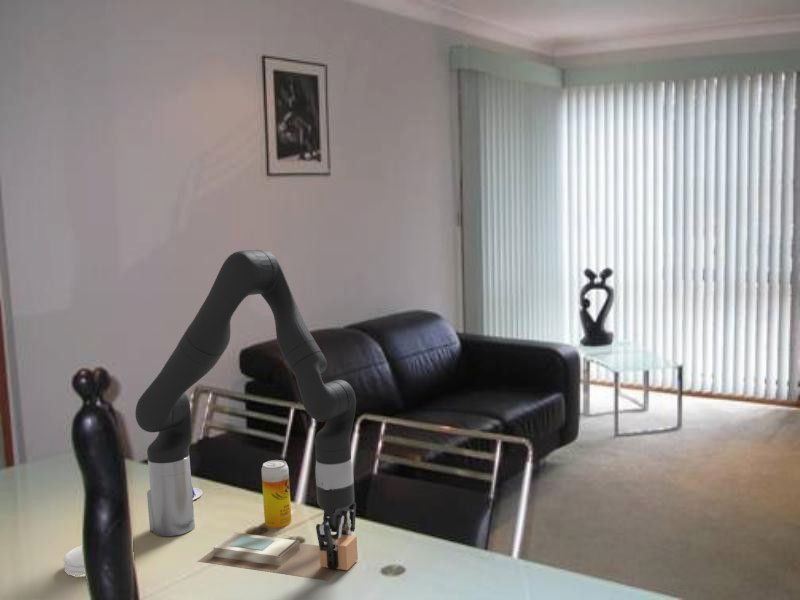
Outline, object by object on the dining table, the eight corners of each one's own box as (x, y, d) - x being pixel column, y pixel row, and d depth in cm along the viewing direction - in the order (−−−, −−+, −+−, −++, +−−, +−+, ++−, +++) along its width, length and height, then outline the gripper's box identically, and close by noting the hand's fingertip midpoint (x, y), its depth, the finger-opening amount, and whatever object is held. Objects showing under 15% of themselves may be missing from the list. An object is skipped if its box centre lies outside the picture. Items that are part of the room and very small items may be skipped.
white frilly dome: (85, 582, 169) (84, 566, 169) (54, 572, 174) (53, 556, 174) (125, 563, 178) (124, 547, 177) (94, 554, 183) (93, 538, 182)
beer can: (286, 532, 190) (282, 468, 188) (261, 531, 191) (257, 467, 189) (295, 521, 196) (291, 459, 194) (270, 520, 197) (266, 459, 195)
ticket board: (198, 565, 174) (196, 551, 174) (234, 538, 187) (233, 525, 187) (327, 585, 163) (326, 569, 163) (357, 555, 176) (356, 541, 176)
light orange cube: (320, 566, 169) (319, 542, 168) (331, 556, 173) (330, 532, 173) (347, 570, 166) (346, 546, 166) (357, 559, 171) (356, 536, 170)
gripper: (333, 467, 176) (337, 545, 178) (301, 491, 162) (306, 574, 165) (366, 470, 173) (370, 549, 175) (336, 495, 160) (340, 579, 162)
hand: (339, 561), depth 170 cm, fingers closed on light orange cube, 5 cm apart
